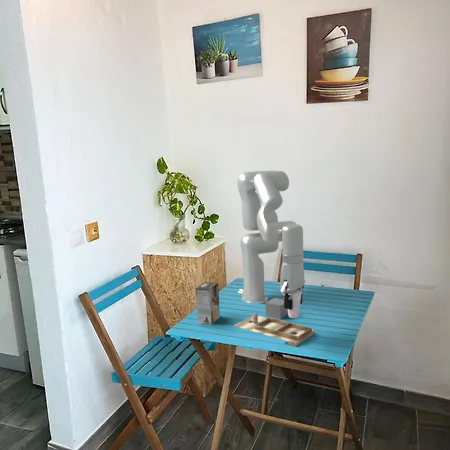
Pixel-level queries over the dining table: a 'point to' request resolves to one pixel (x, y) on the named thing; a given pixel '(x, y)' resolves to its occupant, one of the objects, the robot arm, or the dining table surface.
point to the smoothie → (295, 303)
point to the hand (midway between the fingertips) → (293, 305)
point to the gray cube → (276, 308)
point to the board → (277, 329)
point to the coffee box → (207, 303)
